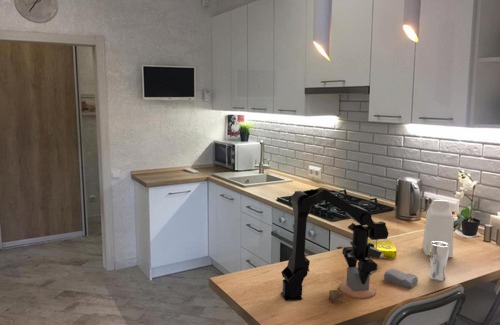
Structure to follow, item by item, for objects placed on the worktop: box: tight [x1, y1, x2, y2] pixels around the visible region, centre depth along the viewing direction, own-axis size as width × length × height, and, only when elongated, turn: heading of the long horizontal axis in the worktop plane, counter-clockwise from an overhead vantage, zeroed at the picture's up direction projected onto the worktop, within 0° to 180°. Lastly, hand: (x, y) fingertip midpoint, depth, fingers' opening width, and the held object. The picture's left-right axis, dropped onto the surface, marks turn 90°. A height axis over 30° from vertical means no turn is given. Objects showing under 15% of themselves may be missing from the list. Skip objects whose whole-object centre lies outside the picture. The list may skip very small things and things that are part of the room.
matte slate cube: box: [346, 266, 371, 291], centre depth 169 cm, size 6×6×7 cm
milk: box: [422, 199, 454, 258], centre depth 211 cm, size 12×12×26 cm
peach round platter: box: [338, 279, 377, 299], centre depth 170 cm, size 14×14×1 cm
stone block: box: [383, 268, 419, 289], centre depth 179 cm, size 12×5×10 cm
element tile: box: [368, 238, 397, 259], centre depth 211 cm, size 15×15×5 cm
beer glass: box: [428, 241, 449, 282], centre depth 181 cm, size 7×7×15 cm
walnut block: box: [328, 289, 343, 304], centre depth 160 cm, size 4×4×4 cm
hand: (358, 279), depth 169 cm, fingers open, 9 cm apart
